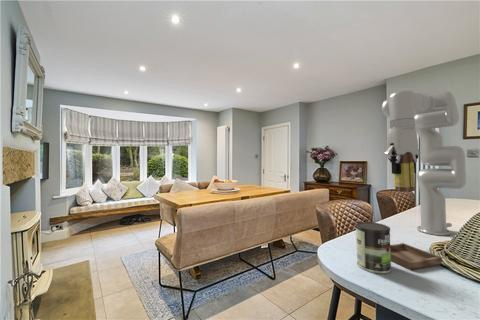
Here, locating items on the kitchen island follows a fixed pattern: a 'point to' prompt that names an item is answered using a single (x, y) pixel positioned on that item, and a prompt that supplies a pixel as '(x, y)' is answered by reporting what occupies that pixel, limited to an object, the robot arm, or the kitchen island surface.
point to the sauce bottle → (405, 174)
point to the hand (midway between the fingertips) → (403, 173)
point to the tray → (413, 257)
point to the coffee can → (373, 247)
